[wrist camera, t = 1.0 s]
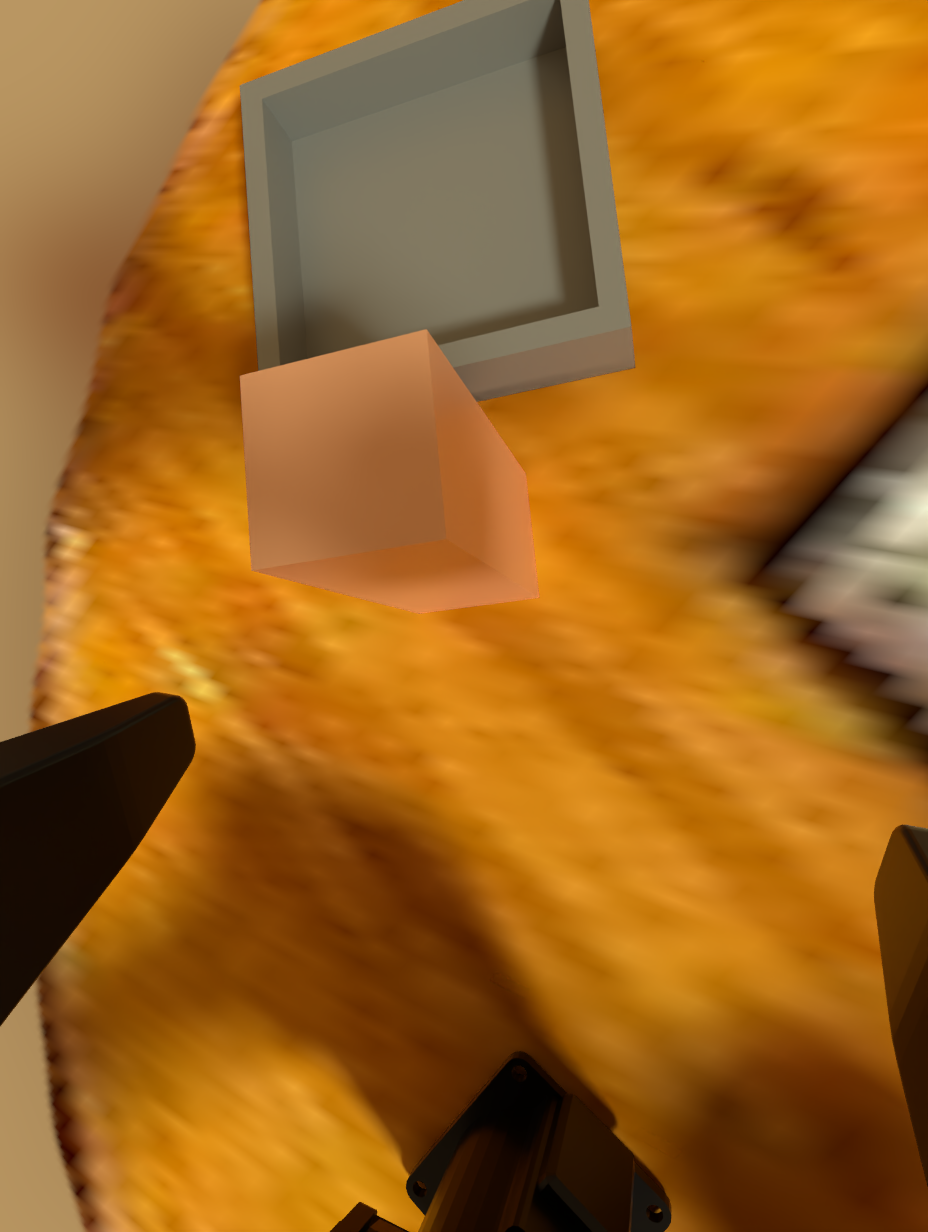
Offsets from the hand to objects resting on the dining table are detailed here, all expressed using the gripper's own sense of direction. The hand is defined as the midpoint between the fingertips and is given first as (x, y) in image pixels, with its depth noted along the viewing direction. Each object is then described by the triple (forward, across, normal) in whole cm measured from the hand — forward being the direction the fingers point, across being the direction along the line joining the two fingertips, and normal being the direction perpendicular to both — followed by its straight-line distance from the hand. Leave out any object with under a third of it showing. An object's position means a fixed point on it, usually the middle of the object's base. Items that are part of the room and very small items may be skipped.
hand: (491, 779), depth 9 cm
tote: (+22, +8, -7) cm, 25 cm away
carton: (+16, +5, +3) cm, 18 cm away
